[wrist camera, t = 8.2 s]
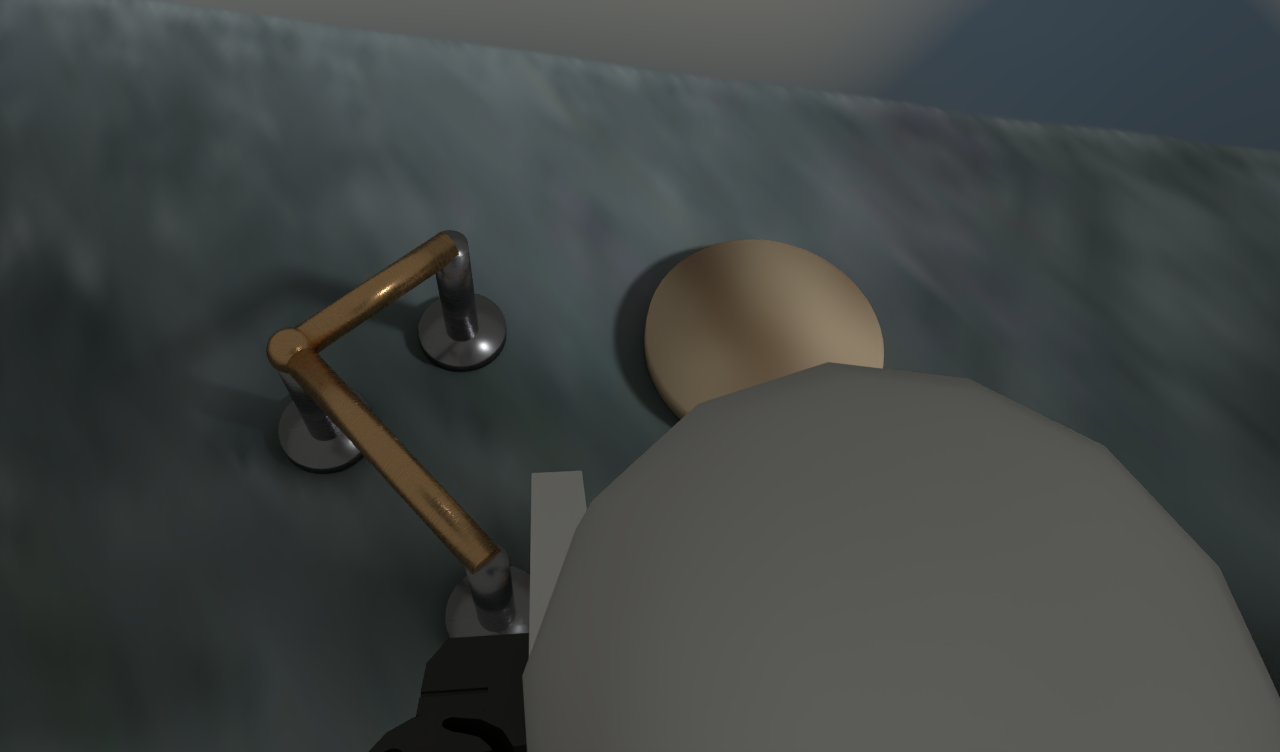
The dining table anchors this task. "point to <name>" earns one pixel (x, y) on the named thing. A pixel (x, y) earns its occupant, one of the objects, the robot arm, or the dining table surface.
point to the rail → (348, 429)
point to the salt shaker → (888, 589)
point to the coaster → (752, 321)
